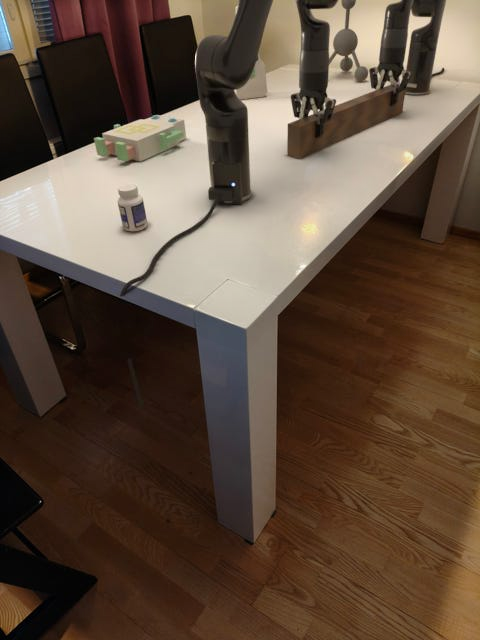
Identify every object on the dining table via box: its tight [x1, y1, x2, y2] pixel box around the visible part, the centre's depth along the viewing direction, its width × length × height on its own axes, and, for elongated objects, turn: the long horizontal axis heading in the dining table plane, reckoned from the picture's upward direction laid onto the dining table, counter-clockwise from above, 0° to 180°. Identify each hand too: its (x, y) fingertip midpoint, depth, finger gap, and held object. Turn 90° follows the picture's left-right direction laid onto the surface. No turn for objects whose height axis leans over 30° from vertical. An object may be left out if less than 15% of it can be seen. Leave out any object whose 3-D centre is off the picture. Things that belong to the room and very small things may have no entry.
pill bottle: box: [117, 182, 148, 232], centre depth 102 cm, size 5×5×9 cm
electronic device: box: [234, 5, 268, 101], centre depth 180 cm, size 12×8×30 cm, turn 105°
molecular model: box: [329, 0, 369, 82], centre depth 196 cm, size 24×22×30 cm
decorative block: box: [93, 114, 187, 162], centre depth 144 cm, size 26×6×20 cm
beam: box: [286, 84, 406, 160], centre depth 146 cm, size 54×4×9 cm, turn 136°
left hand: (311, 135), depth 136 cm, fingers closed on beam, 4 cm apart
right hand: (385, 104), depth 157 cm, fingers closed on beam, 4 cm apart
